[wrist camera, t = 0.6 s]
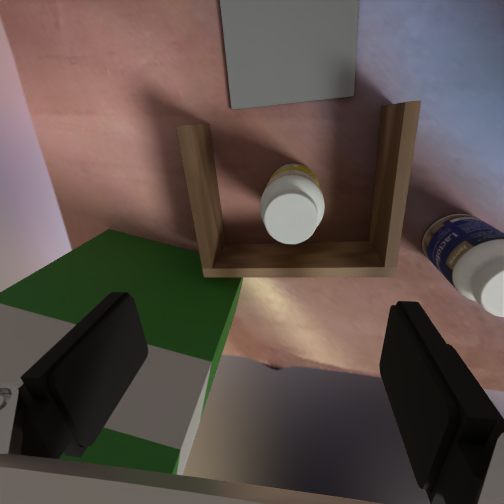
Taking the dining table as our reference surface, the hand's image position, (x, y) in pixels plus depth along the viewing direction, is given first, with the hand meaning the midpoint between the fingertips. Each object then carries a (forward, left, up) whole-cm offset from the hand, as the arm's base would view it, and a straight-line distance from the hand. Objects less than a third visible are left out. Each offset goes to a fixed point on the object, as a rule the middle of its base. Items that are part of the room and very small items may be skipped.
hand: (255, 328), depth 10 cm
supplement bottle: (-1, 0, -22) cm, 22 cm away
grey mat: (-1, -13, -21) cm, 25 cm away
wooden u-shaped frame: (-1, 0, -21) cm, 21 cm away
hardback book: (+14, +10, -22) cm, 28 cm away
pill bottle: (-17, +6, -22) cm, 28 cm away
